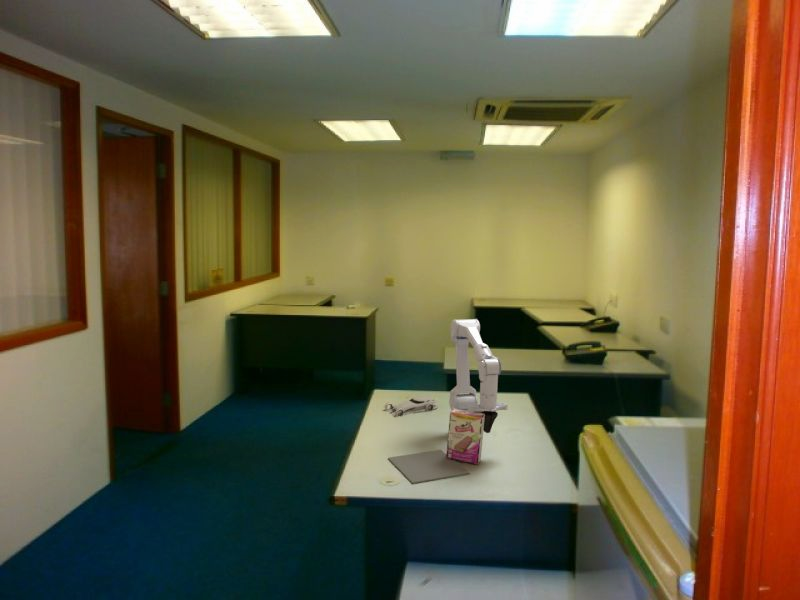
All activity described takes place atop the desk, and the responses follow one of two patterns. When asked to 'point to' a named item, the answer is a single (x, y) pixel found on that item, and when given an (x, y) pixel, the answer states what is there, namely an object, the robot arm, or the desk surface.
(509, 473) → the desk surface
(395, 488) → the desk surface
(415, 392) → the desk surface
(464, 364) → the robot arm
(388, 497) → the desk surface
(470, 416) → the candy bar box
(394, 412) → the car model
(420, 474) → the mat
